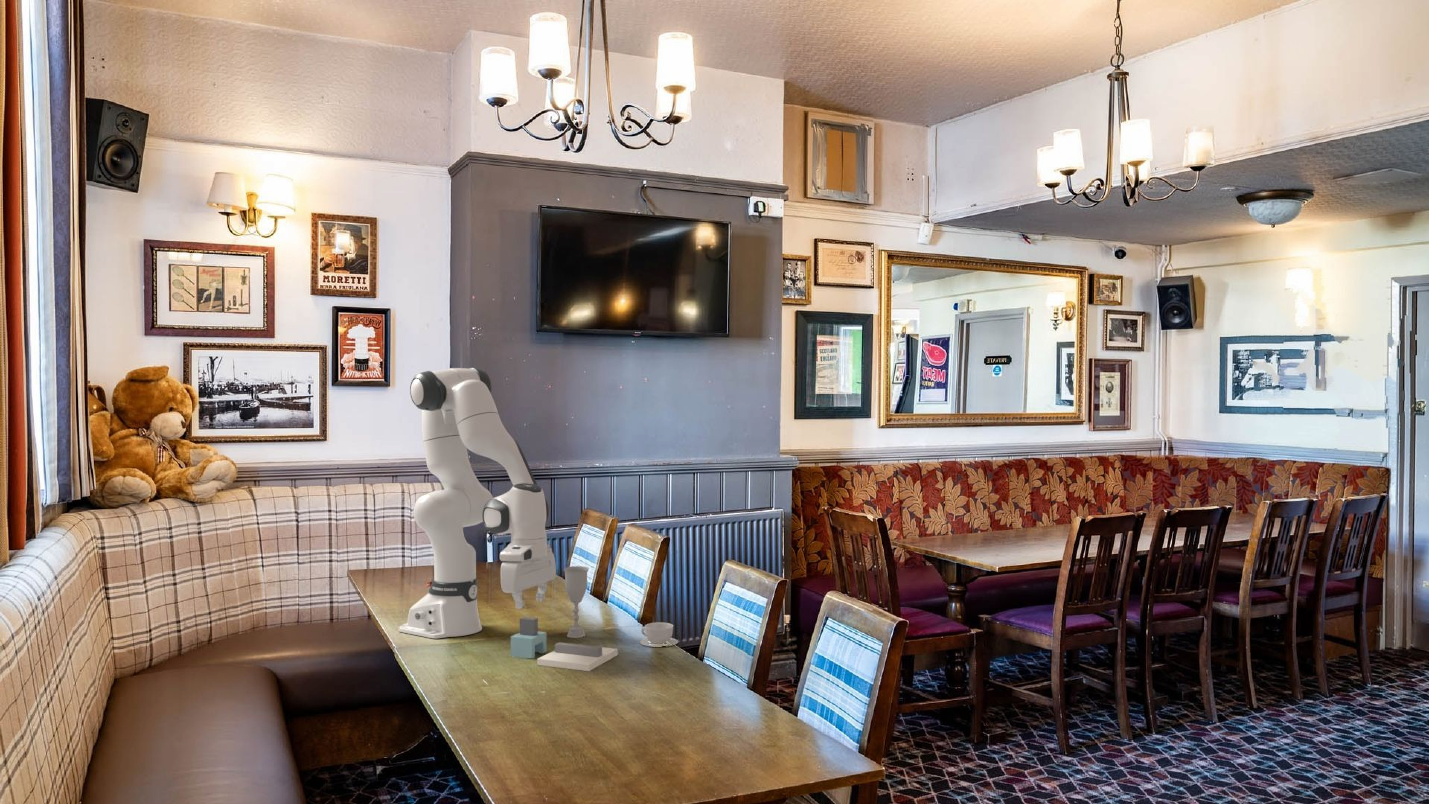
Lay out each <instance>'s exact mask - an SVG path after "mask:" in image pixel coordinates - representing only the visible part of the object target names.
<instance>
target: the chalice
mask: <svg viewBox="0 0 1429 804" xmlns="http://www.w3.org/2000/svg"><path fill="white" fill-rule="evenodd" d="M589 569H590V568H589V566H582V565H581V566H580V565H577V566H576V565H574V566H568V567H567V566H566V567H564V568H563V571H564V587H565V591H566V594H567V595H568V598H569V600H570V602H571V603H572V604H573V605H574V608H573V610H572V611H573V613H574V615H573V617H572V618H573V622H574V623H573V625H572V626H570V627H569V629H568V631H567V634H566V638H570V639H571V638H572V639H581V638H584V637H585V636H586V634H585V631H584V628H583V627H582V626H581V625H579V619H580V616H579V615H578V614H579V612H580V610H579V606H578V605H579V603H581V602H582V601H583V600H584V599H583V598H584V596H585V595H586V591H587V588H588V572H589ZM583 636H584V637H583Z"/></svg>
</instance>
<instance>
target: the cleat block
mask: <svg viewBox="0 0 1429 804" xmlns="http://www.w3.org/2000/svg"><path fill="white" fill-rule="evenodd" d="M538 622H539V618H537V617H532V616H531V617H530V616H523V617H520V618H519V632H518V633H515V634H513V635H511V636H510V657H511V656H514V657H513V658H518V657H520V658H519V659H526V658H533V659H535V658H536V653H535V652H539V653H538V654H545V653H547V649H548V648H547V635H548V634H547V632H546V631H539V623H538ZM544 652H545V653H544Z"/></svg>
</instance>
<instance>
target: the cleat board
mask: <svg viewBox="0 0 1429 804" xmlns="http://www.w3.org/2000/svg"><path fill="white" fill-rule="evenodd" d="M618 655H619V651H618V648H614V647H613V648H611V647H605V646H604V647H603V646H595V645H586V644H578V643H577V644H576V643H568V642H557V643H555V644H554V650H552V651H550V652H549V653H546V654H545V655H542V656H540V657H538V658H537V659H536V662H537V664H536V665H537V666H543V667H551V668H559V669H568V670H575V671H584V672H590V671H592V670H594V669H596V668H597V667H600V666H602V665H603V664H604V663H606V662H608V661H610V660H611V659H614V658H615V657H617V656H618Z"/></svg>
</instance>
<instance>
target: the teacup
mask: <svg viewBox="0 0 1429 804" xmlns="http://www.w3.org/2000/svg"><path fill="white" fill-rule="evenodd" d="M673 631H674V624H672V623H669V622H662V621H661V622H650V623H647V624H645V625H644V626H643V627H642V628H641V634H642V636H643V637H645V638H643V639H641V640H640V641H639V643H640V644H641V645H643V646H646V647H654V648H663V647H662V646H655V645H649V644H663V643H664V644H667V643H666V641H668V642H669V643H670V644H673V645H670V644H668V645H669V646H668V647H670V646H674V645H676V644H678V643H679V641H678V639H676V638H673ZM648 641H650V642H651V643H649V642H648Z"/></svg>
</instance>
